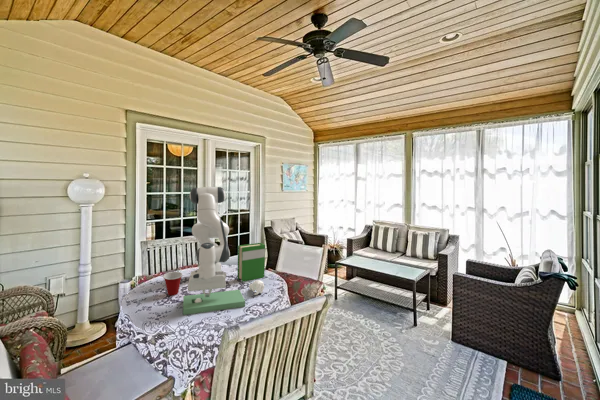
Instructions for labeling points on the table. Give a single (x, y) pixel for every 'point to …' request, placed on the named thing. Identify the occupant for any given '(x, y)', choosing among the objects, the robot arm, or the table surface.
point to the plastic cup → (172, 282)
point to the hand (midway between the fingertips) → (207, 296)
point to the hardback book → (251, 261)
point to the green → (213, 302)
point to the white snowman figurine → (257, 287)
